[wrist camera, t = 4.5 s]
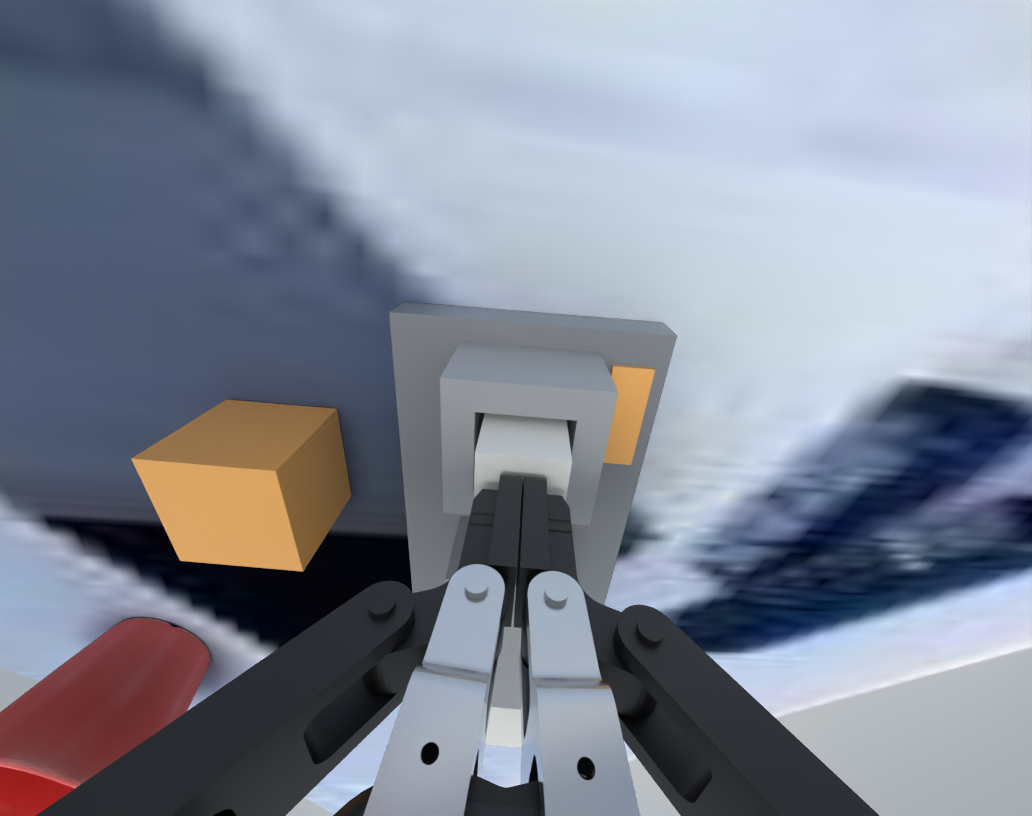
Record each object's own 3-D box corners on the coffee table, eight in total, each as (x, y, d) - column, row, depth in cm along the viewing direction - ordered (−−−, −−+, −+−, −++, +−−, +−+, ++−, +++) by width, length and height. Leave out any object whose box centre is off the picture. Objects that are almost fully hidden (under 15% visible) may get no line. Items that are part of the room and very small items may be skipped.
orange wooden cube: (226, 399, 21) (131, 458, 16) (337, 408, 21) (275, 470, 16) (253, 487, 24) (180, 560, 19) (351, 495, 23) (303, 571, 19)
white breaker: (492, 381, 17) (474, 452, 12) (561, 386, 17) (572, 461, 12) (490, 439, 18) (473, 525, 13) (553, 444, 18) (560, 532, 13)
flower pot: (179, 595, 29) (28, 760, 20) (254, 677, 34) (158, 839, 25) (64, 609, 30) (-123, 768, 22) (152, 686, 35) (28, 841, 27)
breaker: (480, 579, 19) (461, 704, 15) (539, 584, 19) (540, 711, 15) (478, 617, 21) (461, 742, 16) (534, 622, 21) (533, 748, 16)
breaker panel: (403, 301, 18) (347, 342, 13) (662, 322, 18) (717, 372, 12) (421, 569, 26) (391, 661, 21) (597, 584, 26) (613, 681, 21)
